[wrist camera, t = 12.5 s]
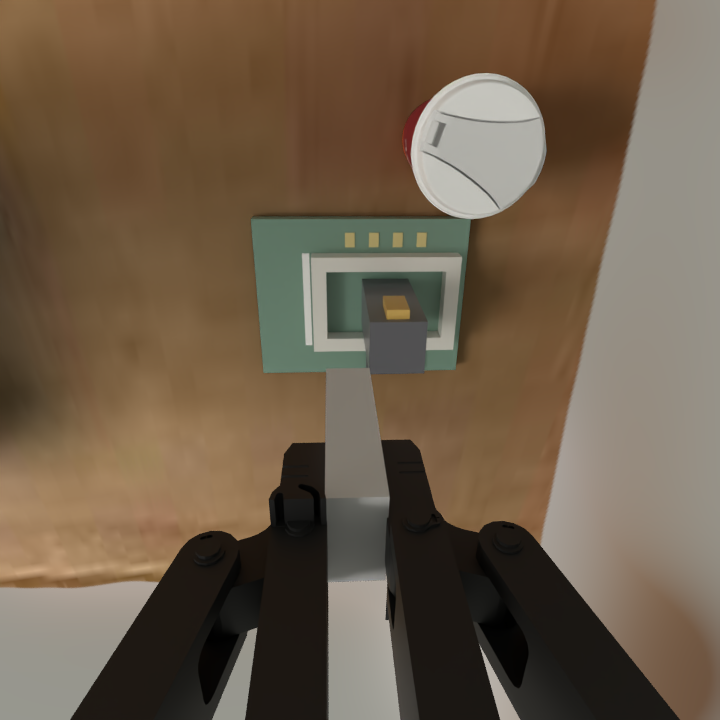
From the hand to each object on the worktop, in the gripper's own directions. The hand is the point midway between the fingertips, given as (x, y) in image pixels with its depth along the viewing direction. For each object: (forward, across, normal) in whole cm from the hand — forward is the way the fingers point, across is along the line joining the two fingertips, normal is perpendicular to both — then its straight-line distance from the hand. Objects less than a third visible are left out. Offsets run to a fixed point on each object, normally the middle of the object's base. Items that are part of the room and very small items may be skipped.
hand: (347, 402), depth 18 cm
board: (+28, +2, -6) cm, 29 cm away
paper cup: (+28, +8, +7) cm, 30 cm away
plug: (+27, +4, -6) cm, 28 cm away
